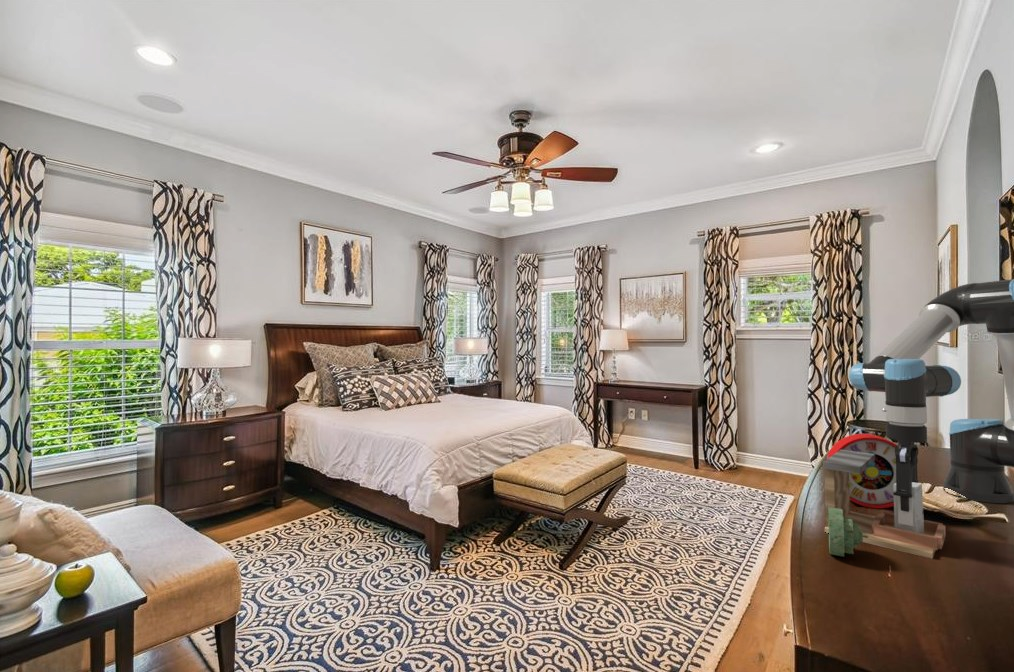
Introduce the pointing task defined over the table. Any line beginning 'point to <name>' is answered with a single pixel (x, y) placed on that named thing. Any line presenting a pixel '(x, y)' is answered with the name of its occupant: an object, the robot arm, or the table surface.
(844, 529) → the decorative artifact
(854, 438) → the toy clock
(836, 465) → the awning stand
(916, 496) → the skincare box
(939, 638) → the table surface
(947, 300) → the robot arm
